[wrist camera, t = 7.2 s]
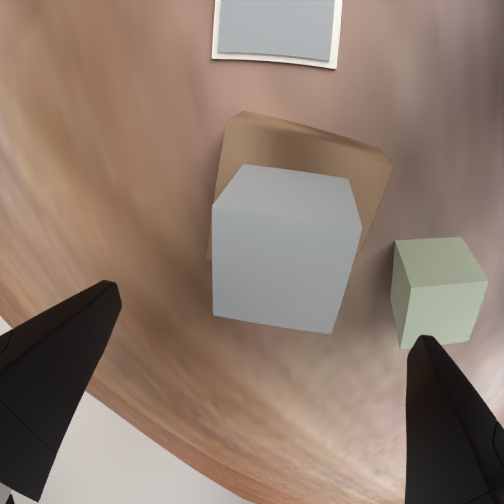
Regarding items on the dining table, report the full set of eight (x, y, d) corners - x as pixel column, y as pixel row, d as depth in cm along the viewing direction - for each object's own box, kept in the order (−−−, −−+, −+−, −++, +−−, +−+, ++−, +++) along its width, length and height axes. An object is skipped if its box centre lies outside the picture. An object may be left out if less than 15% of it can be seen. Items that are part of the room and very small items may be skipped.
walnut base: (378, 147, 16) (393, 167, 13) (336, 257, 21) (338, 295, 18) (244, 110, 17) (226, 121, 14) (223, 226, 21) (205, 259, 18)
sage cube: (460, 236, 18) (488, 280, 14) (449, 293, 20) (468, 341, 16) (394, 239, 19) (411, 287, 15) (389, 298, 22) (399, 349, 18)
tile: (344, -37, 10) (344, -39, 10) (335, 69, 14) (336, 69, 14) (220, -43, 11) (218, -45, 11) (212, 58, 15) (210, 58, 15)
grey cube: (348, 178, 14) (362, 227, 10) (330, 266, 17) (331, 334, 12) (243, 164, 15) (211, 206, 10) (238, 252, 17) (213, 315, 13)
